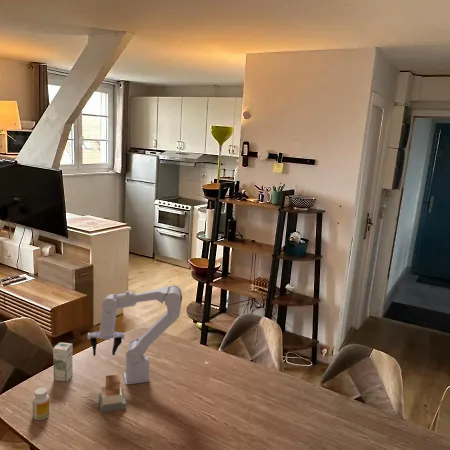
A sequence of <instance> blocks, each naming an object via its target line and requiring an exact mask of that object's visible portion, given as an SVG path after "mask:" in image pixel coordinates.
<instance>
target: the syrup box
mask: <svg viewBox="0 0 450 450" xmlns="http://www.w3.org/2000/svg"><path fill="white" fill-rule="evenodd" d="M73 349H74V347H73V343H68V342H58V343H57V344H55V345H54V347H53V349H52V350H53V351H52V353H53V355H52V356H53V357H52V359H53V365H52V366H53V381H54V382H55V381H57V382H64V383H68V381H69V380H70V379H71V378H72V377H73V375H74V373H73V372H74V371H73V370H74V369H73V352H74V351H73Z"/></svg>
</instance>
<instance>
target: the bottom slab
mask: <svg viewBox="0 0 450 450" xmlns="http://www.w3.org/2000/svg"><path fill="white" fill-rule="evenodd" d="M121 391H122V402H121V403H114V404H107V405H103V404H102V395H101V392H99V393H98V403H99V409H100V410H99V411H100V414H102V413H107V412H108V413H109V412H115V411H122V410H126V409H127V408H126V407H127V402H126V398H125V393H124V389H121Z"/></svg>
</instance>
